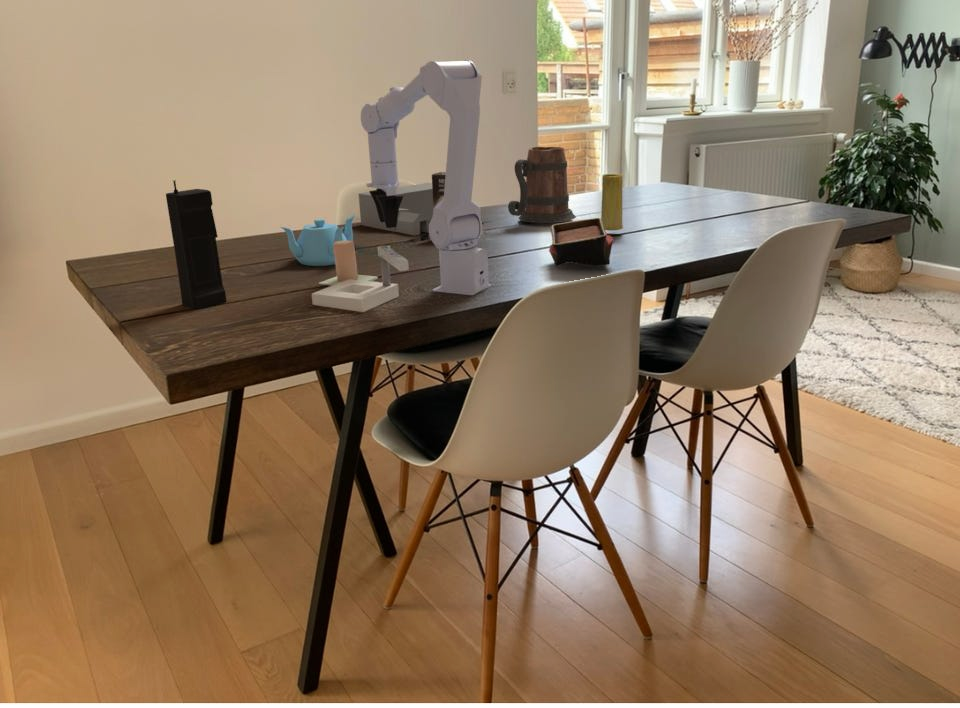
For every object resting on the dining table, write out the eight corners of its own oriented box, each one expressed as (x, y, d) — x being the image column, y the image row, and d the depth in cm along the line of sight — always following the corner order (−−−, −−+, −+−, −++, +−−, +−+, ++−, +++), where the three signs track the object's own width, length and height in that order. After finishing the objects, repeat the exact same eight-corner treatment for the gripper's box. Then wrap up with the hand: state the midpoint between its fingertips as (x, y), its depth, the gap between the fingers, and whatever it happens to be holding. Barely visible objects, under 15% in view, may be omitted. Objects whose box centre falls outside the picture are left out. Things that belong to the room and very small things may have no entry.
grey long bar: (376, 255, 160) (376, 246, 159) (388, 254, 160) (388, 245, 160) (398, 271, 146) (397, 261, 145) (410, 269, 147) (410, 260, 146)
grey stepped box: (413, 242, 214) (410, 200, 210) (361, 232, 230) (358, 193, 227) (482, 227, 230) (481, 188, 226) (429, 219, 246) (427, 182, 242)
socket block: (398, 296, 162) (396, 256, 160) (363, 312, 152) (359, 270, 150) (350, 290, 168) (346, 252, 165) (312, 306, 158) (308, 265, 155)
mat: (377, 278, 177) (377, 276, 176) (352, 289, 169) (352, 286, 169) (344, 275, 181) (344, 273, 181) (318, 285, 173) (318, 282, 173)
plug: (362, 277, 176) (358, 240, 173) (350, 282, 172) (345, 245, 169) (345, 276, 178) (341, 240, 175) (333, 281, 174) (328, 244, 171)
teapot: (304, 256, 203) (299, 214, 199) (363, 254, 201) (359, 213, 198) (285, 269, 189) (279, 225, 186) (348, 268, 187) (343, 224, 184)
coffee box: (433, 234, 221) (430, 174, 216) (441, 230, 227) (438, 171, 222) (465, 235, 219) (462, 174, 213) (472, 230, 225) (470, 171, 219)
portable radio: (215, 300, 165) (196, 174, 157) (233, 304, 162) (214, 176, 153) (180, 309, 160) (159, 180, 151) (198, 314, 156) (176, 181, 148)
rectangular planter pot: (547, 281, 181) (546, 239, 175) (551, 246, 196) (550, 207, 190) (613, 280, 179) (614, 238, 173) (612, 246, 194) (613, 206, 188)
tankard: (545, 210, 251) (544, 144, 245) (587, 216, 240) (588, 146, 233) (490, 222, 236) (488, 151, 230) (532, 228, 225) (531, 154, 218)
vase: (599, 230, 218) (599, 176, 213) (601, 226, 223) (601, 173, 219) (622, 230, 216) (623, 176, 212) (623, 226, 222) (624, 173, 217)
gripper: (359, 160, 181) (365, 220, 186) (370, 166, 168) (375, 231, 172) (391, 157, 183) (395, 218, 187) (404, 163, 170) (408, 228, 174)
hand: (388, 224), depth 180 cm, fingers open, 7 cm apart
